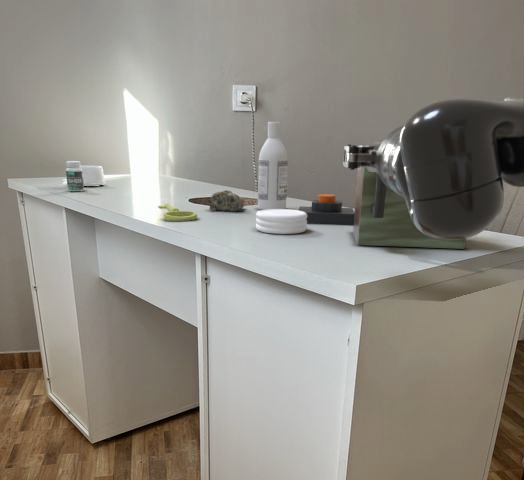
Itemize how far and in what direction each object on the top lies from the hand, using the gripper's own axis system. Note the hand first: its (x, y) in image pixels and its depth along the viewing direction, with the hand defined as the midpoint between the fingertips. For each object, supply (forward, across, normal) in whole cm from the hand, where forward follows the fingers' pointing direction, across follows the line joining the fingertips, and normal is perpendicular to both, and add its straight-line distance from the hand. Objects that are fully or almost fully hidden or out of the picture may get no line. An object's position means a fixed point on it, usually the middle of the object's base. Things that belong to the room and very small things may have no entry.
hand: (395, 155), depth 74 cm
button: (+45, -7, -12) cm, 48 cm away
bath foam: (+60, -20, -15) cm, 66 cm away
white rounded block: (+105, -84, -15) cm, 135 cm away
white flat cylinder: (+30, -16, -16) cm, 38 cm away
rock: (+56, -30, -15) cm, 66 cm away
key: (+42, -40, -16) cm, 61 cm away
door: (+15, +7, -15) cm, 22 cm away
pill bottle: (+88, -81, -15) cm, 121 cm away
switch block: (+46, -7, -15) cm, 49 cm away
